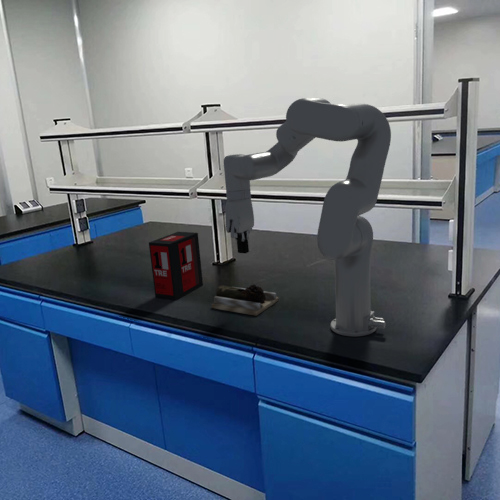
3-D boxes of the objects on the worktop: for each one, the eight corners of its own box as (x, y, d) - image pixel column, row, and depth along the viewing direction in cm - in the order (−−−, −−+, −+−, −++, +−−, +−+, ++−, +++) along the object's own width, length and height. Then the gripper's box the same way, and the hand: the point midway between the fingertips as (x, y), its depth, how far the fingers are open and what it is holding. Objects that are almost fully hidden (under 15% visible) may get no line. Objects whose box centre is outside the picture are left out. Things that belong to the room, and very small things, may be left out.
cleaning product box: (183, 283, 191) (177, 231, 186) (203, 285, 187) (197, 232, 182) (155, 297, 178) (148, 242, 173) (175, 300, 173) (169, 244, 168)
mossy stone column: (216, 300, 167) (214, 284, 166) (229, 294, 172) (227, 278, 171) (260, 309, 157) (258, 291, 155) (272, 302, 162) (271, 285, 160)
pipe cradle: (278, 300, 166) (278, 291, 165) (256, 315, 155) (255, 305, 154) (235, 294, 175) (235, 285, 174) (211, 308, 164) (211, 298, 163)
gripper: (241, 191, 164) (245, 246, 169) (214, 199, 152) (220, 257, 157) (261, 191, 161) (265, 247, 165) (235, 199, 148) (240, 259, 153)
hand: (243, 252), depth 161 cm, fingers closed
